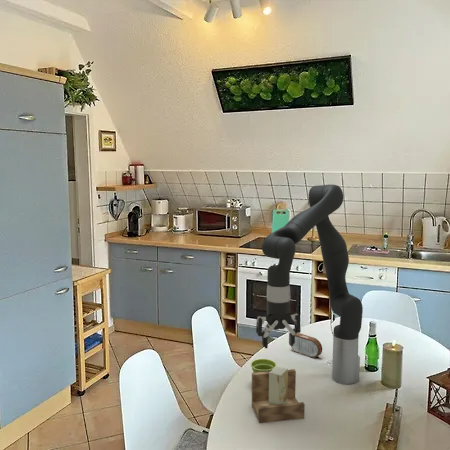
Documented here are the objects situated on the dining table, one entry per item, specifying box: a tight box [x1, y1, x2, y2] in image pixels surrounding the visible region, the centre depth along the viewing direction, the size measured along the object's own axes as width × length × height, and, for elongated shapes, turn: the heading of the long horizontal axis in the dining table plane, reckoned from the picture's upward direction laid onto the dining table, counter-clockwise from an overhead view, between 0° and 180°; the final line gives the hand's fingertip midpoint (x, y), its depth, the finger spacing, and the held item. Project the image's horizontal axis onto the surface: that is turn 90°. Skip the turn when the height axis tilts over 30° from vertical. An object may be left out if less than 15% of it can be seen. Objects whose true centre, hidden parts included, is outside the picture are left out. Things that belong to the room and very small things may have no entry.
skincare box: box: [269, 365, 289, 406], centre depth 153 cm, size 6×4×12 cm
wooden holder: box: [251, 368, 305, 424], centre depth 153 cm, size 15×10×12 cm
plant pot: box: [250, 358, 277, 373], centre depth 171 cm, size 9×9×9 cm
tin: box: [290, 332, 323, 359], centre depth 199 cm, size 15×3×8 cm, turn 47°
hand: (278, 346), depth 150 cm, fingers open, 8 cm apart
